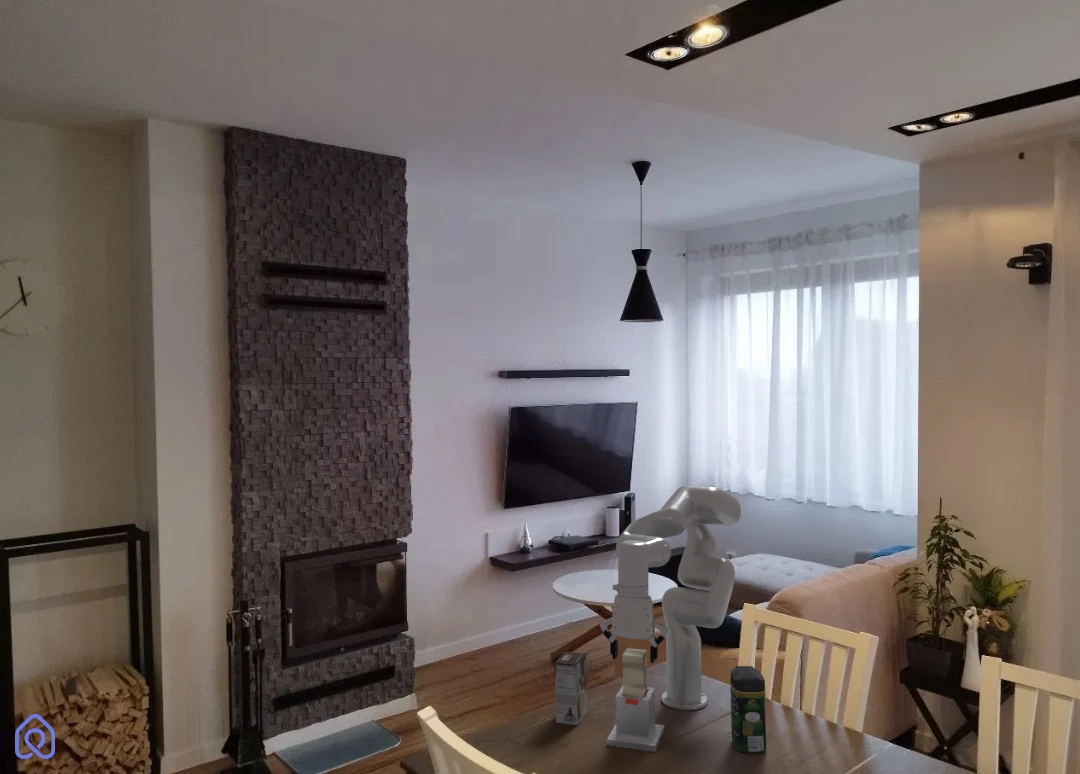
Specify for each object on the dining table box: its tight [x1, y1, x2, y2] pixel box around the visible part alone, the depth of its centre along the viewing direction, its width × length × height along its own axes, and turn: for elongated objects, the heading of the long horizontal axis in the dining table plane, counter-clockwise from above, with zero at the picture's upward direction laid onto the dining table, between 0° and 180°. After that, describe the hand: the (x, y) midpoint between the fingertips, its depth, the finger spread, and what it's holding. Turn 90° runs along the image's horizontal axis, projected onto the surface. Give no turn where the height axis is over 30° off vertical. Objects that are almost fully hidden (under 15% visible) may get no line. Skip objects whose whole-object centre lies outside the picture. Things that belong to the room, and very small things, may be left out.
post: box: [622, 647, 648, 698], centre depth 195 cm, size 5×5×20 cm
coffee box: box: [554, 651, 588, 726], centre depth 208 cm, size 9×6×16 cm
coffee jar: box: [729, 665, 767, 755], centre depth 189 cm, size 10×8×19 cm
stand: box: [606, 685, 665, 753], centre depth 195 cm, size 12×12×12 cm
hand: (633, 659), depth 194 cm, fingers open, 9 cm apart
